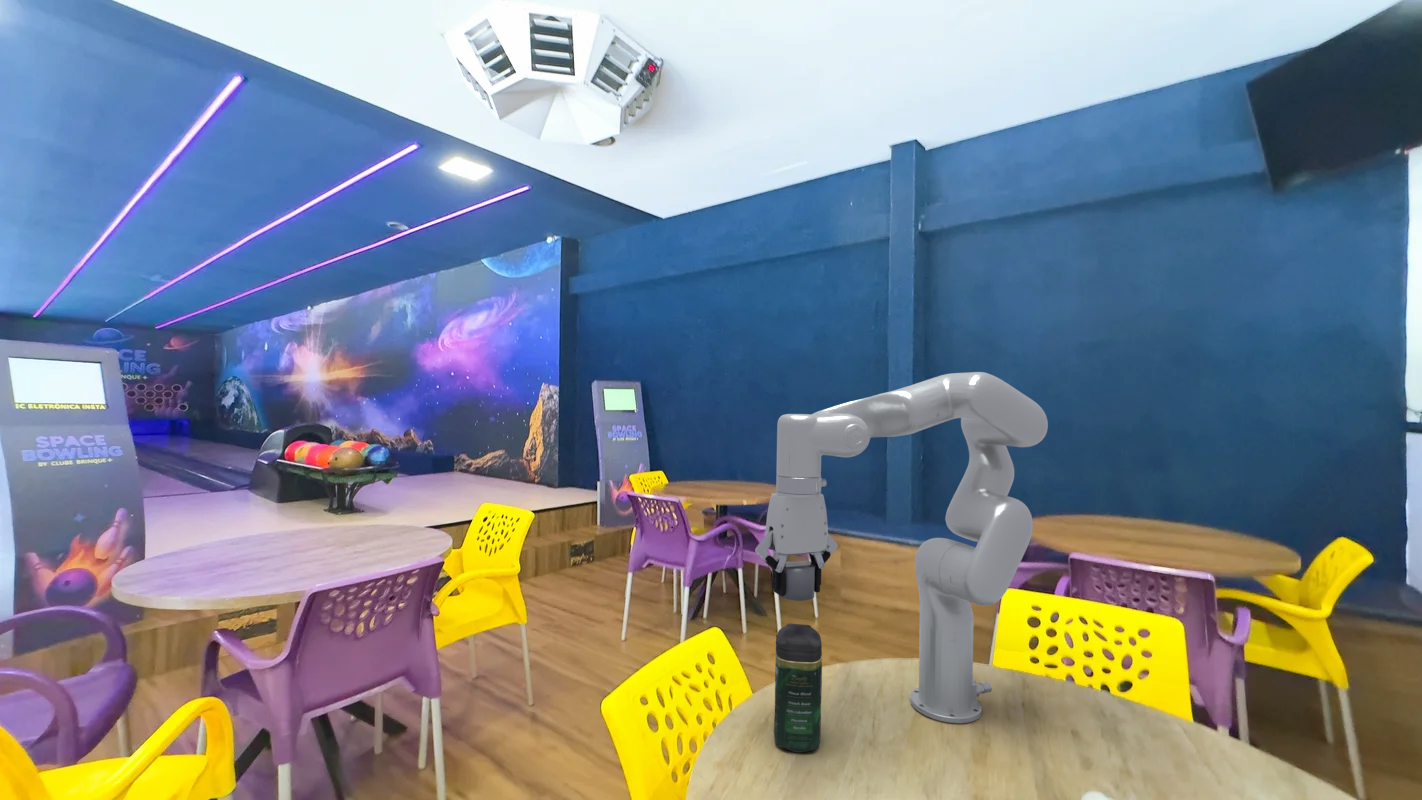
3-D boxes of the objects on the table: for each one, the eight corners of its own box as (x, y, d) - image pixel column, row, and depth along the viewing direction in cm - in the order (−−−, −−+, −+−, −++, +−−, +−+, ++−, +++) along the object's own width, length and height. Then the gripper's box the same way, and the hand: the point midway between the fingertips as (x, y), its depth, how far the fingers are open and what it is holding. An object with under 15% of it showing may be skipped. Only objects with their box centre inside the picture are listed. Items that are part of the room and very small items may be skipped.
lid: (803, 588, 107) (803, 556, 107) (821, 598, 102) (821, 565, 102) (772, 591, 105) (773, 559, 105) (789, 602, 100) (789, 568, 100)
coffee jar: (822, 756, 98) (823, 642, 98) (773, 752, 99) (774, 639, 99) (819, 725, 108) (821, 620, 108) (775, 721, 109) (776, 618, 109)
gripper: (830, 482, 110) (828, 581, 110) (743, 484, 104) (741, 590, 104) (853, 487, 103) (852, 593, 103) (762, 491, 97) (760, 604, 97)
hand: (796, 590), depth 104 cm, fingers closed on lid, 5 cm apart
